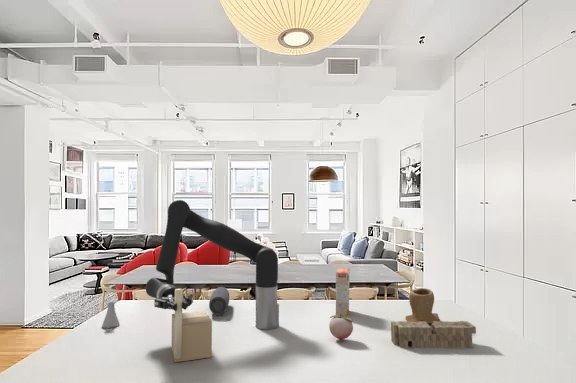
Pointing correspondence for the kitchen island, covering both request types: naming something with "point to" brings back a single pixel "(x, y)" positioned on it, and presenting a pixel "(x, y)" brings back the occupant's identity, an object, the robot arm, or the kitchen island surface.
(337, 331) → the decorative fruit
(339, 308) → the cracker box
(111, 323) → the flask
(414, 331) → the block tower
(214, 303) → the bluetooth speaker
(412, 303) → the stone cup
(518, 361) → the kitchen island surface
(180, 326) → the beige l-shaped piece
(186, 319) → the brown carton
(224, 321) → the kitchen island surface
